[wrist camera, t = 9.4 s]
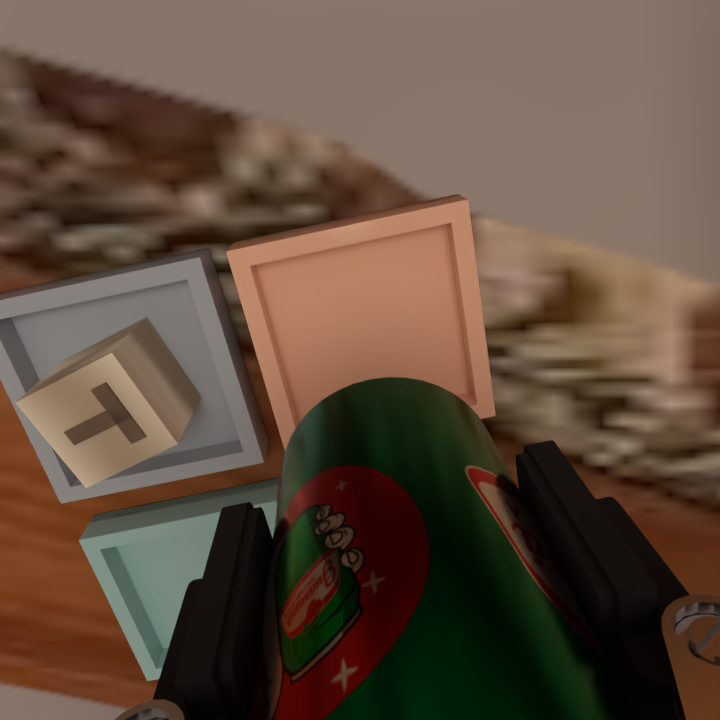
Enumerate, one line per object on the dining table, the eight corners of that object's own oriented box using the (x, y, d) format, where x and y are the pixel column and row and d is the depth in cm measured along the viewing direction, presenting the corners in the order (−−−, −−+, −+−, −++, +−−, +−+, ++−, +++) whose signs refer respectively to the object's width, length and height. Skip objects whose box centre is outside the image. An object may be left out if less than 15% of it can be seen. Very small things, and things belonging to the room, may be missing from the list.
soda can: (496, 522, 15) (958, 1608, 4) (308, 558, 15) (259, 1710, 4) (476, 347, 13) (1251, 1495, 2) (261, 388, 13) (-64, 1688, 2)
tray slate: (209, 247, 23) (199, 257, 21) (268, 441, 26) (263, 462, 24) (-9, 294, 23) (-35, 307, 21) (77, 479, 26) (61, 503, 25)
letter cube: (147, 316, 23) (110, 353, 19) (201, 396, 24) (177, 445, 21) (64, 359, 24) (13, 403, 20) (122, 435, 25) (84, 490, 21)
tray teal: (279, 477, 27) (276, 501, 25) (322, 619, 30) (322, 647, 29) (94, 515, 27) (78, 540, 26) (157, 650, 31) (147, 681, 29)
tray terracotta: (457, 193, 22) (467, 199, 21) (485, 397, 26) (495, 415, 24) (233, 242, 23) (226, 251, 21) (290, 437, 26) (287, 458, 24)
